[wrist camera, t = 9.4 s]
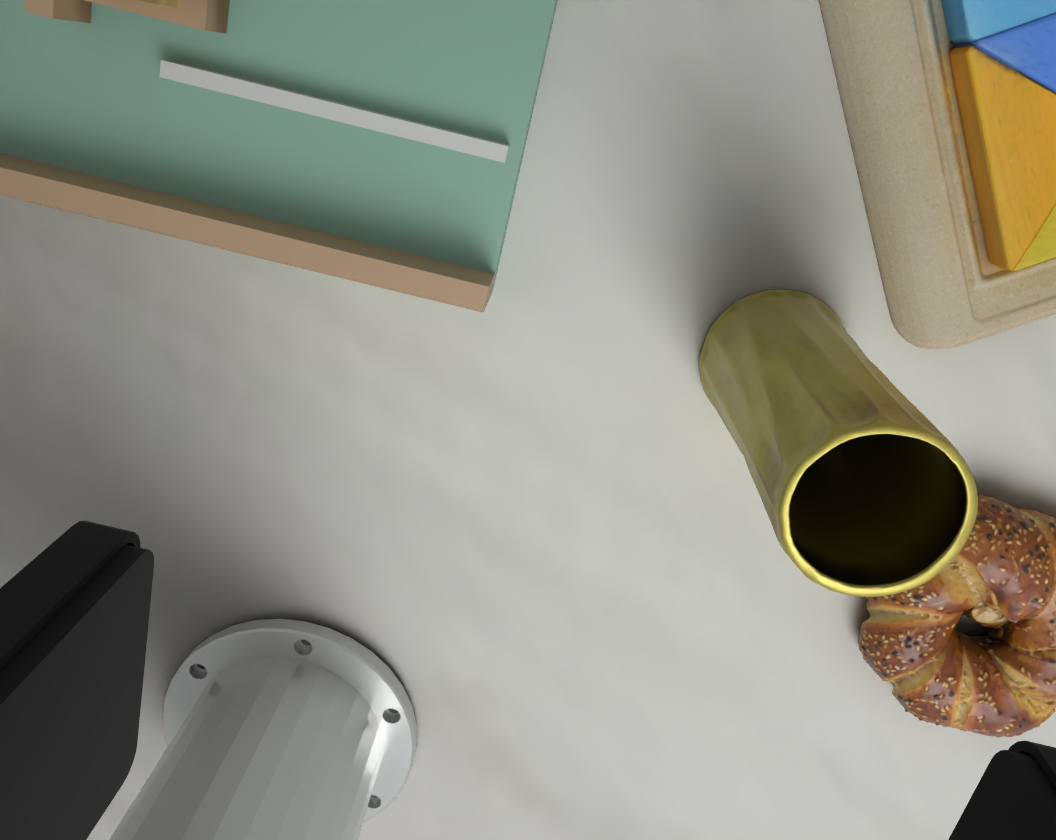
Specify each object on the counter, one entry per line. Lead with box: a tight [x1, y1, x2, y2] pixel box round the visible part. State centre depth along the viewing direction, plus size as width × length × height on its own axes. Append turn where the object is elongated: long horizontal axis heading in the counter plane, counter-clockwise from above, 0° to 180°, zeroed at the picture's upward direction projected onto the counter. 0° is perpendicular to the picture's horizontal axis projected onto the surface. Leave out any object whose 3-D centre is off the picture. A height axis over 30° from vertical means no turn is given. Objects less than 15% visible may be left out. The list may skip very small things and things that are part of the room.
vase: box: [699, 289, 978, 597], centre depth 30 cm, size 6×6×14 cm
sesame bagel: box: [858, 494, 1056, 737], centre depth 39 cm, size 12×11×4 cm
